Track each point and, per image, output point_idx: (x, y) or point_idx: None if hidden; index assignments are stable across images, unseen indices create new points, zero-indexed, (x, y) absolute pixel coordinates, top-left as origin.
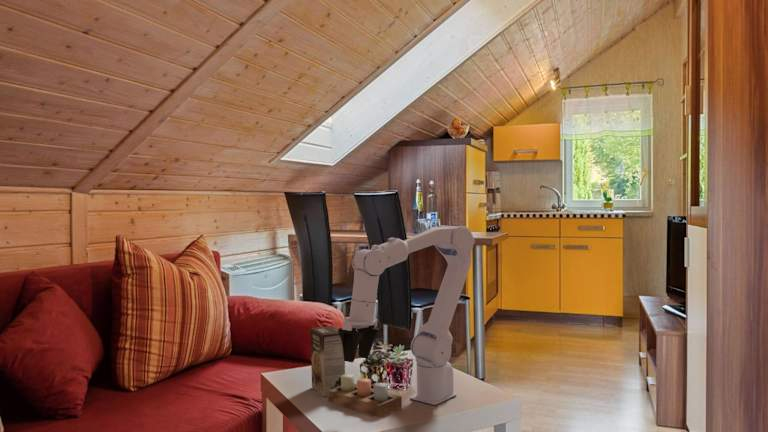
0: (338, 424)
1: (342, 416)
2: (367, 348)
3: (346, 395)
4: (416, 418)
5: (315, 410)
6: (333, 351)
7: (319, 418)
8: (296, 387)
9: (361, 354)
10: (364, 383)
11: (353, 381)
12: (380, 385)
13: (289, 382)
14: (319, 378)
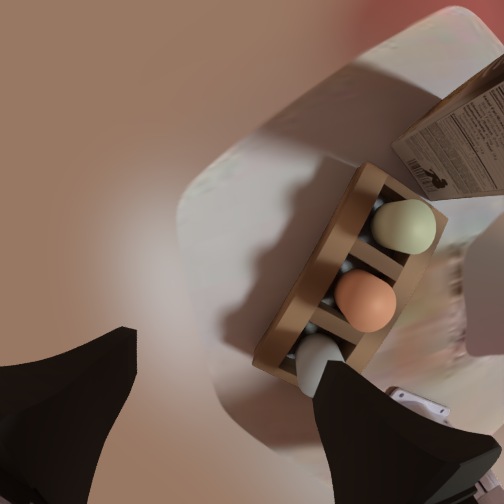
0: (187, 253)
1: (246, 247)
2: (331, 436)
3: (330, 240)
4: (267, 423)
5: (279, 152)
6: (494, 143)
7: (219, 185)
8: (430, 63)
9: (328, 382)
10: (345, 315)
11: (400, 251)
12: (318, 378)
13: (450, 46)
14: (427, 114)
